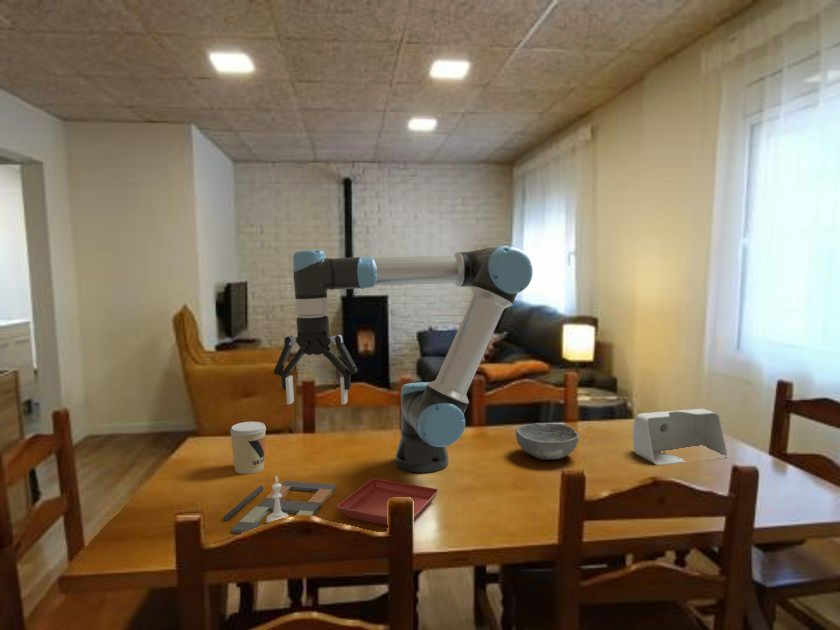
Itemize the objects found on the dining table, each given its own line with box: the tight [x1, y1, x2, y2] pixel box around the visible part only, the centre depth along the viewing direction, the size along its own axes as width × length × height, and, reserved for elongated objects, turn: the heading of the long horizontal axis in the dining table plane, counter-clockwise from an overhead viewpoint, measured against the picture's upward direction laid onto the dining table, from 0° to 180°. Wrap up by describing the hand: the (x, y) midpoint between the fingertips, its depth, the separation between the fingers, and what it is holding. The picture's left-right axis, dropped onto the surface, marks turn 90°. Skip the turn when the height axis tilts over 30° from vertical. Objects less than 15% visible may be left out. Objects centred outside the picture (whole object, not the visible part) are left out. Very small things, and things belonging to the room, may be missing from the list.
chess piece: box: [265, 475, 290, 524], centre depth 120 cm, size 5×5×10 cm
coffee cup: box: [229, 421, 267, 475], centre depth 150 cm, size 9×9×12 cm
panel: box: [231, 480, 337, 534], centre depth 126 cm, size 14×26×1 cm, turn 169°
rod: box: [223, 485, 264, 521], centre depth 128 cm, size 17×1×1 cm, turn 169°
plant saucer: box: [336, 478, 439, 526], centre depth 126 cm, size 18×18×3 cm
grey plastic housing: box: [632, 408, 728, 466], centre depth 163 cm, size 25×16×12 cm, turn 104°
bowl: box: [515, 422, 580, 461], centre depth 160 cm, size 18×18×8 cm
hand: (317, 403), depth 132 cm, fingers open, 13 cm apart
